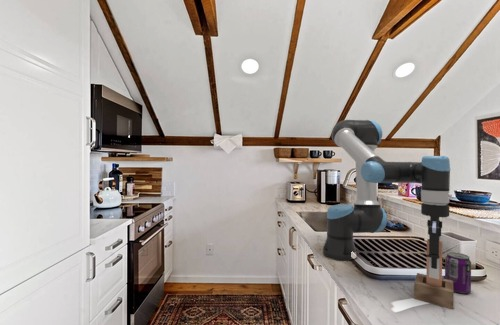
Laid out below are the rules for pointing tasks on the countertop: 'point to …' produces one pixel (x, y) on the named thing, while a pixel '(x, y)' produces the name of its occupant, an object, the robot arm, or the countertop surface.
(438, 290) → the socket block
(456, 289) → the beverage can
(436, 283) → the peg
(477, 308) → the countertop surface
